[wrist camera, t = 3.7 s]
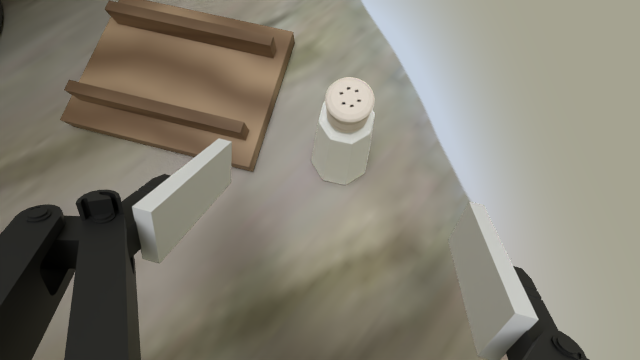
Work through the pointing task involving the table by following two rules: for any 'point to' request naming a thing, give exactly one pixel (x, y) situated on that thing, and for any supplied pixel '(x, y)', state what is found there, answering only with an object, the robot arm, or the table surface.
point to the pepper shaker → (344, 131)
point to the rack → (181, 80)
